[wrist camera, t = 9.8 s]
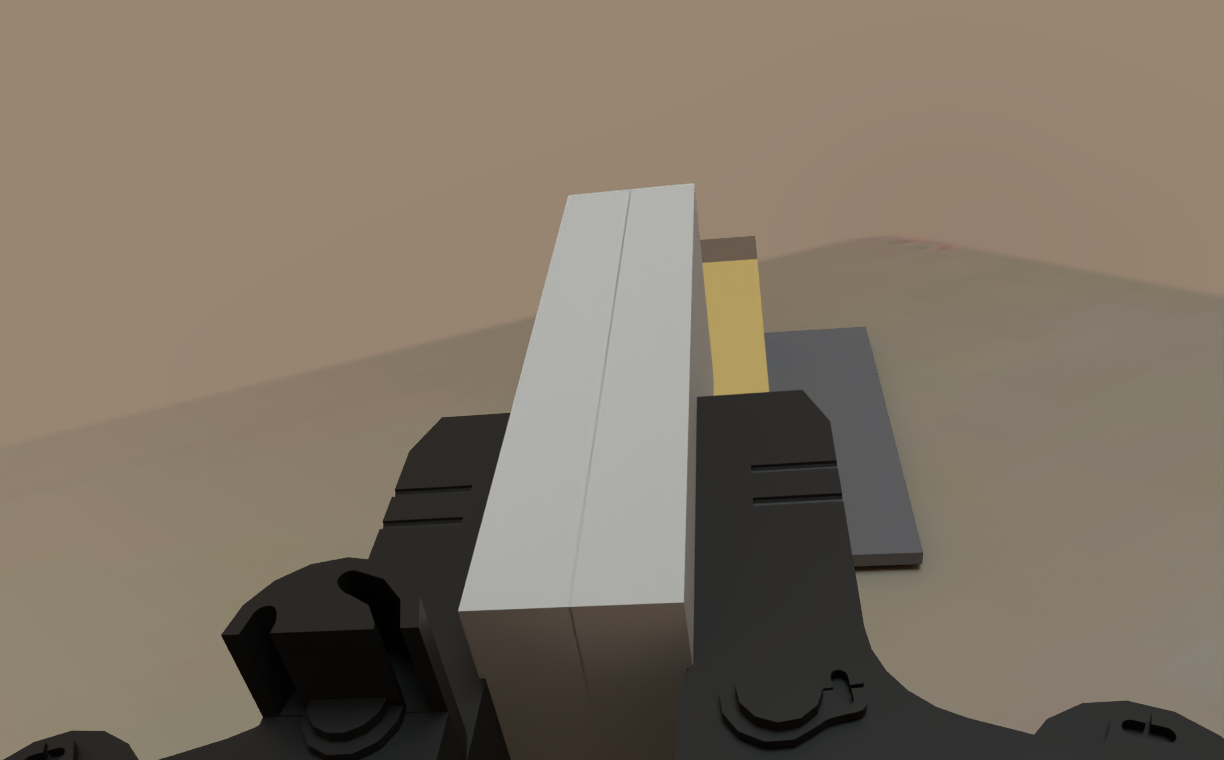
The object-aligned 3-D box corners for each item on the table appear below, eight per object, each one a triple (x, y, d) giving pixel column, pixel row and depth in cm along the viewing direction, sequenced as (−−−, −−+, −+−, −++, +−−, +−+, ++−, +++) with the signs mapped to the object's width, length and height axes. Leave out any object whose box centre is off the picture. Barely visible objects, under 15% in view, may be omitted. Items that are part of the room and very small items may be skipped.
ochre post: (779, 578, 32) (760, 342, 44) (774, 451, 29) (755, 235, 41) (621, 583, 33) (643, 349, 44) (601, 460, 30) (630, 245, 41)
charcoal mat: (865, 336, 44) (865, 326, 44) (922, 564, 32) (923, 552, 32) (544, 356, 46) (542, 346, 45) (491, 578, 34) (488, 567, 34)
